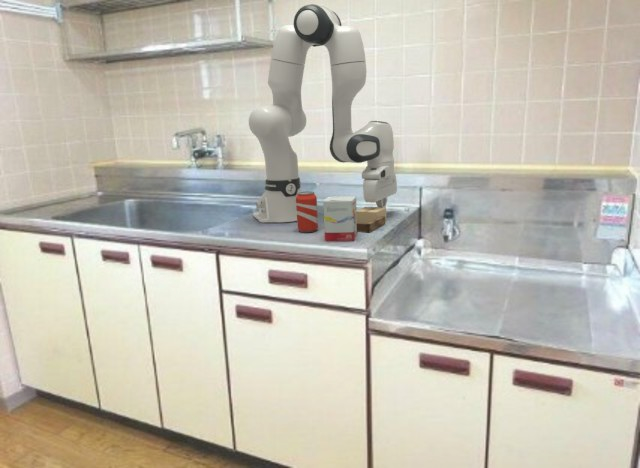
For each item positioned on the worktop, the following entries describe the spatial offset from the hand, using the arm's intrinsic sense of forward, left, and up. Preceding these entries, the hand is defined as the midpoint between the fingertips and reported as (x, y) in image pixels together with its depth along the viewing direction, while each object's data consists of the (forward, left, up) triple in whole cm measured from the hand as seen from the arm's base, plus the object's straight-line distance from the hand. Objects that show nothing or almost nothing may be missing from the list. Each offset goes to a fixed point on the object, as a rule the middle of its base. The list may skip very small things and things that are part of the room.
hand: (381, 211), depth 170 cm
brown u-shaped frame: (+7, -14, -2) cm, 16 cm away
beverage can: (+1, -29, -2) cm, 29 cm away
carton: (+4, -8, -2) cm, 9 cm away
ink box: (+15, -26, -2) cm, 31 cm away
